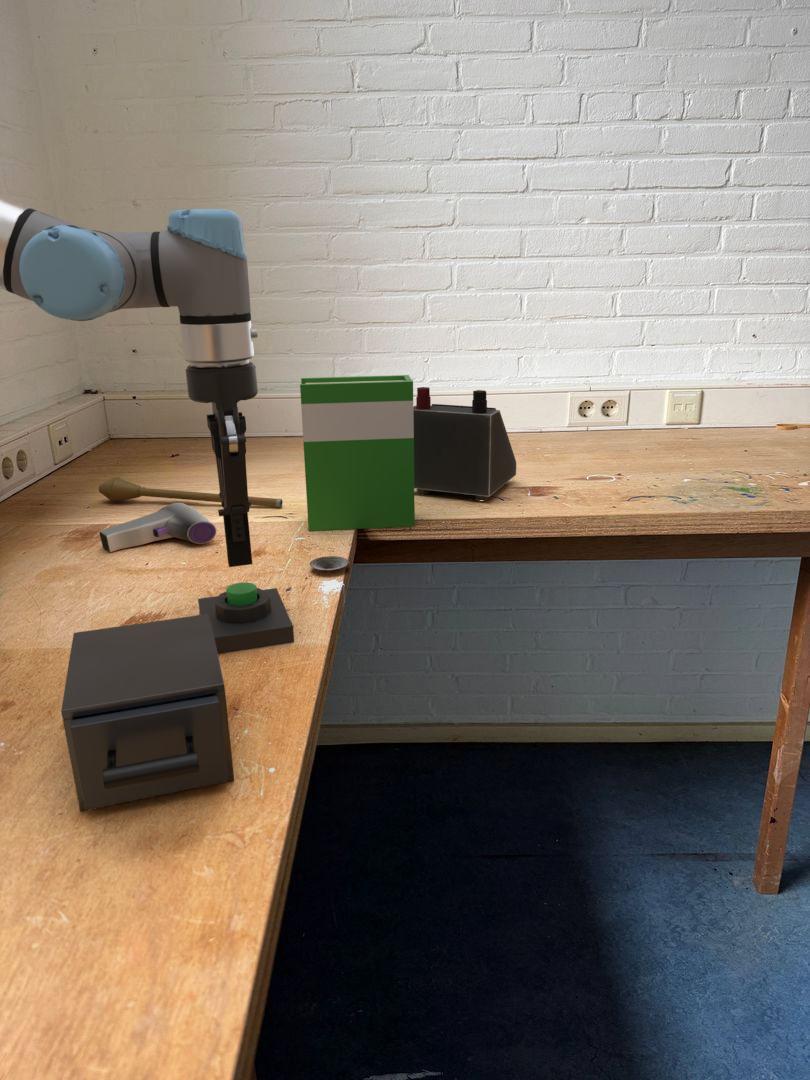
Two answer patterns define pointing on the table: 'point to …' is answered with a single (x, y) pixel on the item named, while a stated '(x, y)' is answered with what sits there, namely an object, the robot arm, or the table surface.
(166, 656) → the cabinet
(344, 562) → the small grey dish
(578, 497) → the table surface
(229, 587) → the button
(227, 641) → the control block
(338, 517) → the green cereal box
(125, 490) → the panzerfaust
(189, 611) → the table surface
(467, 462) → the voltmeter
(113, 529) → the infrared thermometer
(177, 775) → the drawer
